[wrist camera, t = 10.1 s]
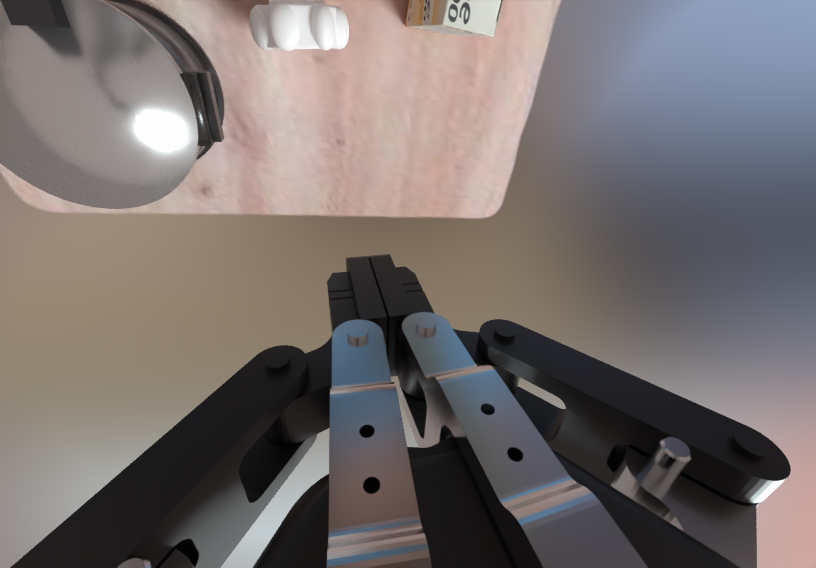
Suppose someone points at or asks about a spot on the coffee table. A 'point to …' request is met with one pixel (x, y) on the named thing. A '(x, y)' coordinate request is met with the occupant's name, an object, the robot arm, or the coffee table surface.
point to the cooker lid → (94, 104)
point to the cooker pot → (183, 59)
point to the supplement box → (454, 16)
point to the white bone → (299, 25)
